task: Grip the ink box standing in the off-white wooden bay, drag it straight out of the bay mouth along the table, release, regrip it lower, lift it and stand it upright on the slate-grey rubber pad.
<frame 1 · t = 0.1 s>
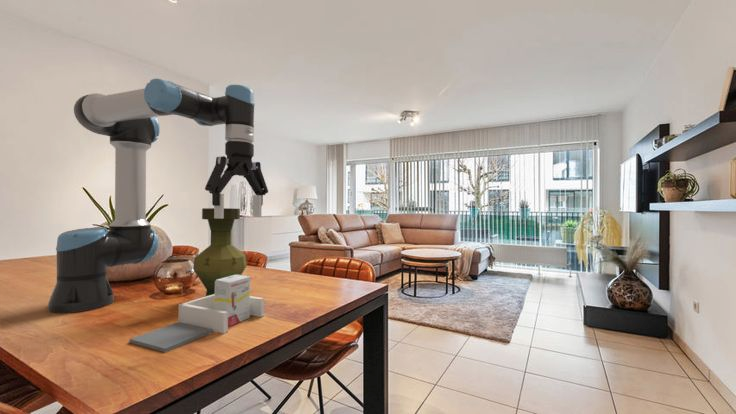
hand: (239, 217, 94), 28 cm above the table, fingers open, 13 cm apart
vase: (220, 299, 110), on the table
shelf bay: (222, 319, 91), on the table
stand pad: (172, 337, 79), on the table
ink box: (232, 322, 90), on the table
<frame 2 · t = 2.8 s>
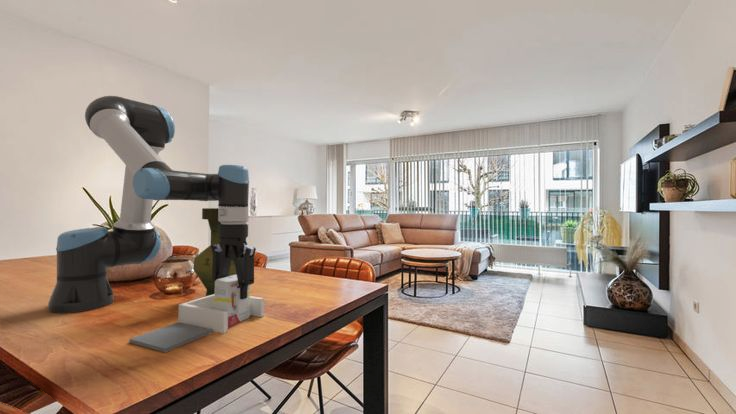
hand: (232, 309, 90), 3 cm above the table, fingers closed on ink box, 5 cm apart
ink box: (232, 322, 90), on the table, touching gripper
everything else where it was.
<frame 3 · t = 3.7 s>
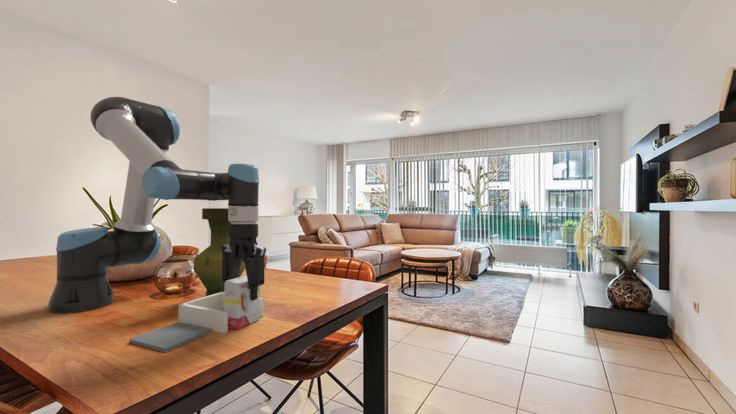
hand: (242, 310, 88), 3 cm above the table, fingers closed on ink box, 5 cm apart
ink box: (242, 324, 88), on the table, touching gripper
everything else where it was.
when the fingers open (3 cm above the table, at t = 4.8 s): ink box stays where it is, on the table.
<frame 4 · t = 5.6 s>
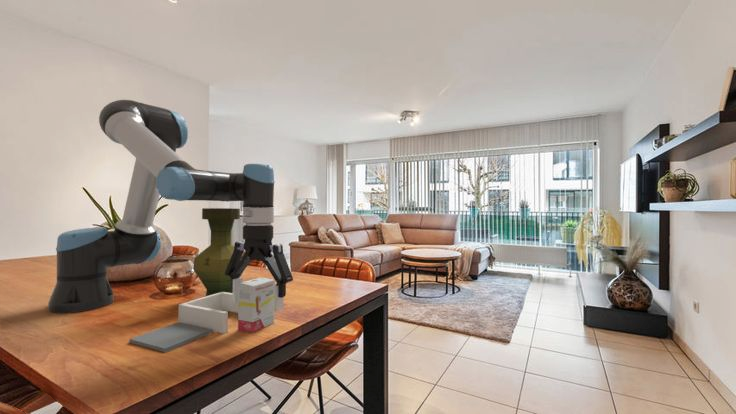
hand: (257, 306, 86), 5 cm above the table, fingers open, 13 cm apart
ink box: (256, 327, 86), on the table
everything else where it was.
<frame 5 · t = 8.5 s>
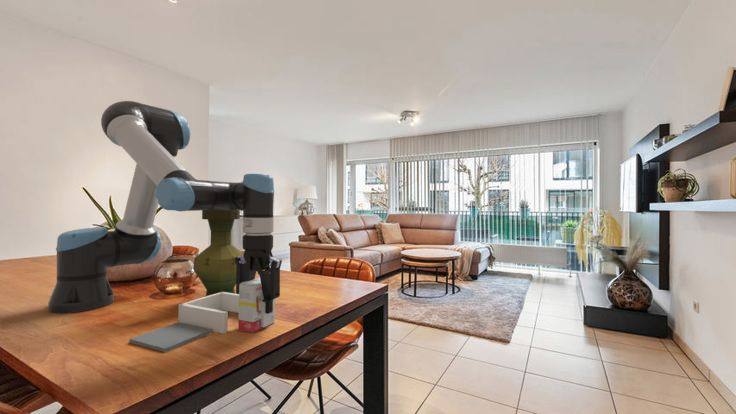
hand: (257, 323, 86), 1 cm above the table, fingers closed on ink box, 5 cm apart
ink box: (257, 327, 86), on the table, touching gripper
everything else where it was.
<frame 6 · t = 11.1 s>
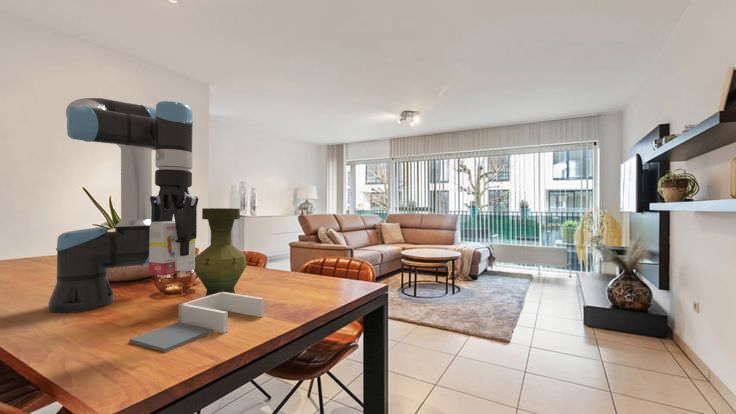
hand: (173, 268, 79), 16 cm above the table, fingers closed on ink box, 5 cm apart
ink box: (172, 272, 78), point 15 cm above the table, touching gripper
everything else where it was.
when the fingers open (3 cm above the table, at t = 13.8 s): ink box drops 1 cm, resting on stand pad.
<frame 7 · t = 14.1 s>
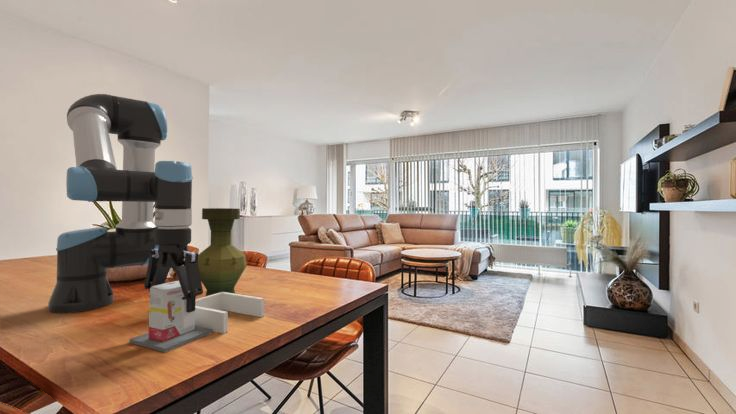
hand: (172, 322, 79), 4 cm above the table, fingers open, 9 cm apart
ink box: (172, 335, 79), point 1 cm above the table, touching stand pad
everything else where it was.
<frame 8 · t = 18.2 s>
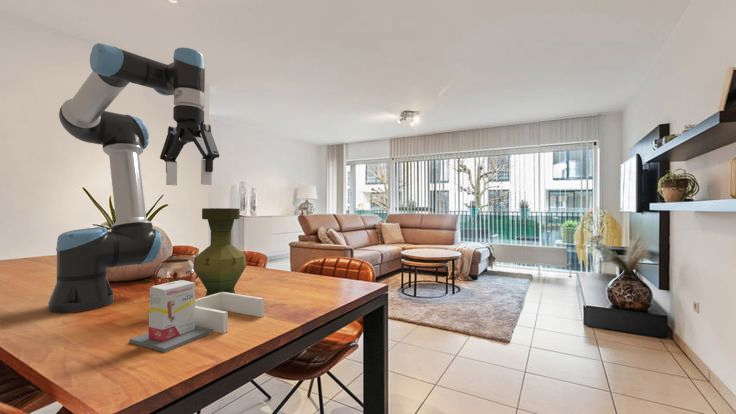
hand: (188, 185, 92), 37 cm above the table, fingers open, 13 cm apart
nothing on the table moved.
at the end: ink box 0.2 cm from the stand pad (horizontally); ink box tilted 0°; the gripper is holding nothing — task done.
